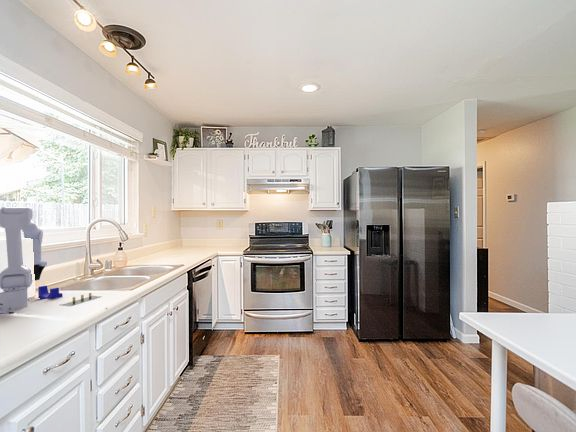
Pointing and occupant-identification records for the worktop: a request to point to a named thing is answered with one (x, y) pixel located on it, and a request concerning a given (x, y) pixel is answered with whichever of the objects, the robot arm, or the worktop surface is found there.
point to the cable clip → (45, 294)
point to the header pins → (82, 297)
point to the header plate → (80, 301)
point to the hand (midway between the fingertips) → (34, 280)
